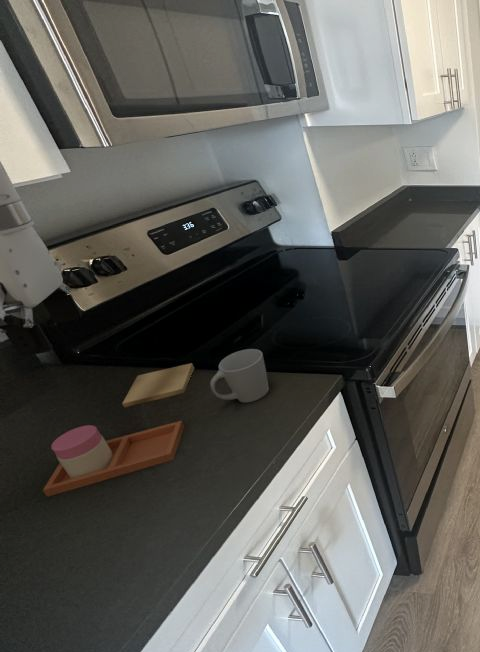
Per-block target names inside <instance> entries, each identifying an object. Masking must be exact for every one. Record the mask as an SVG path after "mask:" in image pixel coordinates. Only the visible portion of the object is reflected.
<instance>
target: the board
mask: <svg viewBox="0 0 480 652" xmlns="http://www.w3.org/2000/svg"><path fill="white" fill-rule="evenodd" d="M194 370H195V366H194V364H193V363H192V362H190V363H186V364H182V365H177V366H173V367H169V368H164V369H160V370H156V371H151V372H148V373H143V374H139V375H137V376H136V378H135V379H134V381H133V383H132V385H131V386H130V388H129V391H128V392H127V394H126V396H125V397H124V399H123V401H122V406H123V408H129V407H133V406H137V405H141V404H145V403H149V402H153V401H157V400H162V399H165V398H169V397H173V396H177V395H180V394H181V395H182V394H184V393H185V392H186V389H187V386H188V383H189V382H190V381H191V379H190V377H191V378H192V376H193V374H192V373H194ZM191 375H192V376H191ZM189 380H190V381H189Z"/></svg>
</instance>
